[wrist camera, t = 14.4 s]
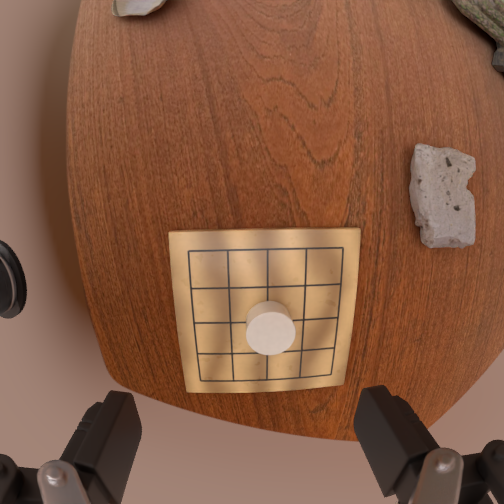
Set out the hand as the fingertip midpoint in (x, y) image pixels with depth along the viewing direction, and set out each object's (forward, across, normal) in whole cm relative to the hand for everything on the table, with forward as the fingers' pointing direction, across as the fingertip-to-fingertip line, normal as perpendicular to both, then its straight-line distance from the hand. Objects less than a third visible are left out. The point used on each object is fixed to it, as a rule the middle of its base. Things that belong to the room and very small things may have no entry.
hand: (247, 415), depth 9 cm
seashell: (+23, +12, -32) cm, 41 cm away
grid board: (+23, -3, +7) cm, 24 cm away
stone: (+23, -24, -8) cm, 34 cm away
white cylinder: (+22, -3, +7) cm, 23 cm away
